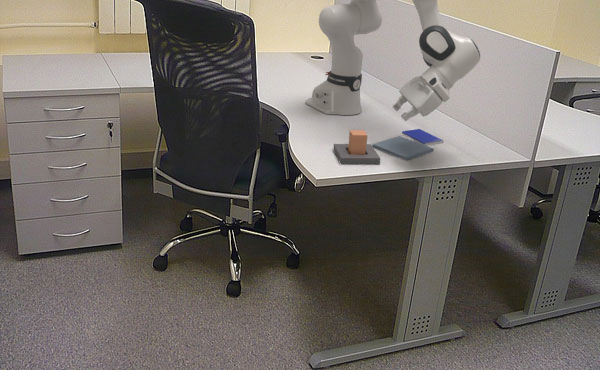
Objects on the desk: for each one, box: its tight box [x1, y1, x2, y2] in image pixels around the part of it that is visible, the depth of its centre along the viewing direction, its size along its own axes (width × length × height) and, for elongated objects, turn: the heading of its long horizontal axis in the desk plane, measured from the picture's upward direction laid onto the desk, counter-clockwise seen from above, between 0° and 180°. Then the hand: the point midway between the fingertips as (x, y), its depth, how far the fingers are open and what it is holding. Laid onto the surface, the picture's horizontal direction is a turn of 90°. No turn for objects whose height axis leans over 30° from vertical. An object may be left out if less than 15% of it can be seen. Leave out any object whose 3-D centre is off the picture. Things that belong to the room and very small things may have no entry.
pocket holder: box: [332, 143, 381, 165], centre depth 201 cm, size 12×12×2 cm
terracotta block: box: [347, 129, 368, 155], centre depth 200 cm, size 4×4×8 cm
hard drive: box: [401, 128, 445, 146], centre depth 221 cm, size 2×8×12 cm
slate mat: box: [371, 135, 434, 161], centre depth 210 cm, size 14×14×1 cm
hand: (398, 113), depth 197 cm, fingers open, 8 cm apart
